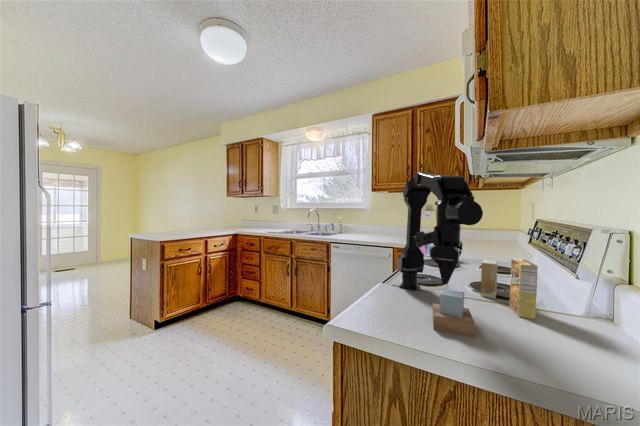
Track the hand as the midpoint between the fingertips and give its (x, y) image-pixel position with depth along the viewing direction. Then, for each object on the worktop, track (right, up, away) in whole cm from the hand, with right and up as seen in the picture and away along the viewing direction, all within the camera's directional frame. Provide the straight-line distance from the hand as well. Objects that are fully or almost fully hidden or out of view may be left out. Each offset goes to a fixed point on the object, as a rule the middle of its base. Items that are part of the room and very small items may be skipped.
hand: (446, 279), depth 68 cm
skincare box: (+26, -12, +21) cm, 36 cm away
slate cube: (+1, -8, -2) cm, 8 cm away
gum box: (+38, -10, +92) cm, 100 cm away
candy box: (+26, -12, +7) cm, 30 cm away
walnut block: (+1, -12, -1) cm, 12 cm away
